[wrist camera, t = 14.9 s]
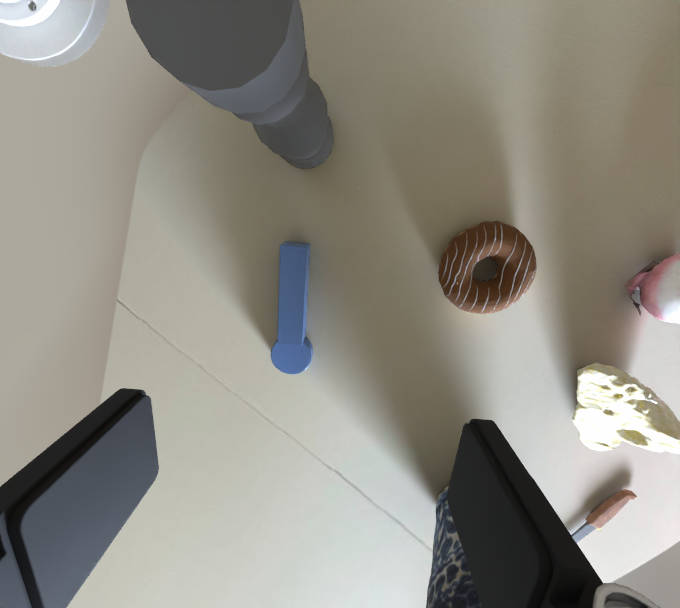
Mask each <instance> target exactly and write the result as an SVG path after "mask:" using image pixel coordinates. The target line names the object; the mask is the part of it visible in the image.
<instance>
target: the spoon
mask: <svg viewBox="0 0 680 608" xmlns="http://www.w3.org/2000/svg"><path fill="white" fill-rule="evenodd" d="M309 260H310V244H308V243H297V242H284V243H283V244H281V245H280V266H279V305H278V339H277V340H276V342H275V344H274V346H273V347H272V350H271V359H272V362H273V364H274V365H275V367H276V368H277V369H279V370H280V371H282V372H284V373H287V374H297V373H300V372H302V371H304V370H305V369H306V368H307V367H308V366H309V364H310V362H311V358H312V354H313V349H312V345H311V343H310V341H309V340H308V339H307V338H306V337H305V333H306V315H307V296H308V278H309Z"/></svg>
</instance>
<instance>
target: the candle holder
mask: <svg viewBox="0 0 680 608" xmlns="http://www.w3.org/2000/svg"><path fill="white" fill-rule="evenodd" d="M126 2H127V7H128V11H129V15H130V19H131V23H132V25H133V26H134V28H135V30H136V31H137V33H138V35H139V37H140V38H141V40H142V42H143V43H144V45H145V47H146V48H147V49H148V52H149V54H150V55H151V57H152V58H153V59H154V60H156V61H157V62H158V63H159V64H160V65H161V66H163V67H164V68H165V69H166V70H167V71H168V72H170V73H171V74H172V75H173V76H174V77H175V78H177V79H178V80H179V81H180V82H182V83H183V84H184V85H186V86H187V87H189V88H190V89H191V90H193V91H194V92H195V93H197V94H198V95H200V96H201V97H202V98H204V99H205V100H207V101H208V102H209V103H211V104H212V105H214V106H216V107H218V108H221V109H224V110H227V111H230V112H232V113H233V114H235V115H236V116H237V117H238V118H239V119H242V120H245V121H248V122H250V123H253V127H254V129H255V131H256V133H257V135H258V136H259V138H260V140H261V142H262V143H264V144H265V145H266V146H267V147H268V148H269V149H270V150H272V151H273V152H274V153H277V154H279V155H280V156H281V157H282V158H284V159H285V160H286V161H287V162H288V163H290V164H291V165H293V166H296V167H299V168H302V169H306V168H314V167H316V166H318V165H319V164H321V163H323V162H324V161H325V159H326V158H327V157H328V155H329V154H330V152H331V149H332V145H333V129H332V124H331V120H330V118H329V116H328V111H327V102H326V100H325V98H324V95H323V93H322V91H321V89H320V87H319V85H318V84H317V83H316V82H314V81H313V80H312V79H311V78H310V77H309V70H308V60H307V51H306V48H305V47H306V45H305V35H304V26H303V16H302V11H301V7H300V3H299V0H126Z"/></svg>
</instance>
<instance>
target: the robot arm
mask: <svg viewBox="0 0 680 608" xmlns="http://www.w3.org/2000/svg"><path fill="white" fill-rule="evenodd" d="M59 2H60V0H0V22H1V23H5V24H8V25H11V26H21V27H24V26H30V25H35V24H37V23H39V22H42V21H44V20H45V19H46V18H47V17H48V16H50V15H51V14H52V13H53V11H54V10H55V9H56V7H57V6H58V4H59ZM158 469H159V465H158V457H157V448H156V440H155V431H154V423H153V414H152V405H151V399H150V397H149V396H147V395H146V393H145V392H144V391H143V390H137V389H125V388H123V389H120V390H118V391H117V392H115V393H114V394H113V395H112V396H111V397H109V398H108V399H107V400H106V401H104V402H103V403H102V404H101V405H100V406H98V407H97V408H96V409H95V410H93V411H92V412H91V413H90V414H89V415H87V416H86V417H85V418H84V419H83V420H81V421H80V422H79V423H78V424H76V425H75V426H74V427H73V428H71V429H70V430H69V431H68V432H67V433H65V434H64V435H63V436H62V437H60V438H59V439H58V440H57V441H56V442H54V443H53V444H52V445H51V446H50V447H48V448H47V449H46V450H45V451H44V452H42V453H41V454H40V455H39V456H37V457H36V458H35V459H34V460H33V461H31V462H30V463H29V464H28V465H26V466H25V467H24V468H23V469H21V470H20V471H19V472H18V473H16V474H15V475H14V476H13V477H12V478H10V479H9V480H8V481H7V482H5V483H4V484H3V485H2V486H1V487H0V608H66V607H67V606H68V605H69V603H70V602H71V600H72V599H73V597H74V596H75V594H76V593H77V592H78V590H79V589H80V587H81V586H82V584H83V583H84V581H85V580H86V579H87V577H88V576H89V574H90V573H91V571H92V570H93V569H94V567H95V566H96V564H97V563H98V561H99V560H100V558H101V557H102V556H103V554H104V553H105V551H106V550H107V548H108V547H109V546H110V544H111V543H112V541H113V540H114V538H115V537H116V535H117V534H118V533H119V531H120V530H121V528H122V527H123V525H124V524H125V522H126V521H127V520H128V518H129V517H130V515H131V514H132V512H133V511H134V510H135V508H136V507H137V505H138V504H139V502H140V501H141V499H142V498H143V497H144V495H145V494H146V492H147V491H148V489H149V488H150V486H151V485H152V484H153V482H154V481H155V479H156V477H157V474H158ZM447 502H448V506H449V510H450V513H451V516H452V519H453V522H454V525H455V528H456V531H457V534H458V537H459V540H460V543H461V546H462V549H463V552H464V555H465V558H466V561H467V564H468V567H469V570H470V573H471V576H472V579H473V582H474V585H475V589H476V592H477V595H478V598H479V601H480V604H481V607H482V608H660V607H659V606H658V605H656V604H655V603H653V602H652V601H651V600H649V599H648V598H646V597H645V596H644V595H642V594H640V593H638V592H636V591H634V590H633V589H631V588H629V587H626V586H623V585H619V584H616V583H604V584H603V582H602V581H601V579H600V578H599V576H598V575H597V573H596V572H595V570H594V569H593V567H592V566H591V564H590V563H589V561H588V560H587V558H586V557H585V555H584V554H583V552H582V551H581V549H580V548H579V546H578V545H577V543H576V542H575V540H574V539H573V538H572V536H571V535H570V533H569V532H568V530H567V529H566V527H565V526H564V524H563V523H562V521H561V520H560V518H559V517H558V515H557V514H556V512H555V511H554V509H553V508H552V506H551V505H550V503H549V502H548V500H547V499H546V497H545V496H544V494H543V493H542V491H541V490H540V488H539V487H538V485H537V484H536V482H535V481H534V479H533V478H532V477H531V476H530V475H529V473H528V472H527V470H526V469H525V467H524V466H523V464H522V463H521V461H520V460H519V458H518V457H517V455H516V454H515V452H514V451H513V449H512V448H511V446H510V445H509V443H508V442H507V440H506V439H505V437H504V436H503V434H502V433H501V431H500V430H499V428H498V427H497V425H496V424H495V423H494V421H492V420H482V419H471V421H470V422H469V423H466V424H464V426H463V430H462V434H461V438H460V442H459V446H458V450H457V455H456V459H455V463H454V467H453V471H452V475H451V479H450V483H449V487H448V491H447Z"/></svg>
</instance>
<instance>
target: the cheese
mask: <svg viewBox="0 0 680 608" xmlns="http://www.w3.org/2000/svg"><path fill="white" fill-rule="evenodd" d="M577 376H578V379H577V381H578V387H577V391H576V392H577V400H578V404H577V406H576V408H575V412H574V415H573V417H572V420H573V423H574V425H575V426H576V427H577V428H578V429H579V433H578V434H579V437H580V439H581V440H582V442H583V443H584V444H585V445H586V446H588V447H589V448H590V449H593V450H599V451H604V450H612V449H614V448H615V447H616V446H617V445H620V444H621V440H622V441H625V442H628V443H630V444H632V445H634V446H638V447H642V448H645V449H649V450H652V451H655V452H663V451H665V450H666V451H669V452H672V453H680V422H679V421H678V420H677V418H676V417H675V415H674V413H673V412H672V411H671V410H670V408H669V407H668V405H666V404H665V403H664V402H663V401H662V400H661V399H660V398H659V397H657V396H656V394H655V393H654V392H653V391H652V390H651V389H650V388H648V387H645V386H644V385H643V384H641V383H640V382H639V381H638V380H637V379H636V378H634V377H631V376H630V375H628V374H627V373H626V372H623V371H622V370H620V369H617V368H615V367H613V366H607V365H602V364H600V363H599V362H597V363H594V364H591V365H588V366H586V367H584V368H579V369H578V370H577Z"/></svg>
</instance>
